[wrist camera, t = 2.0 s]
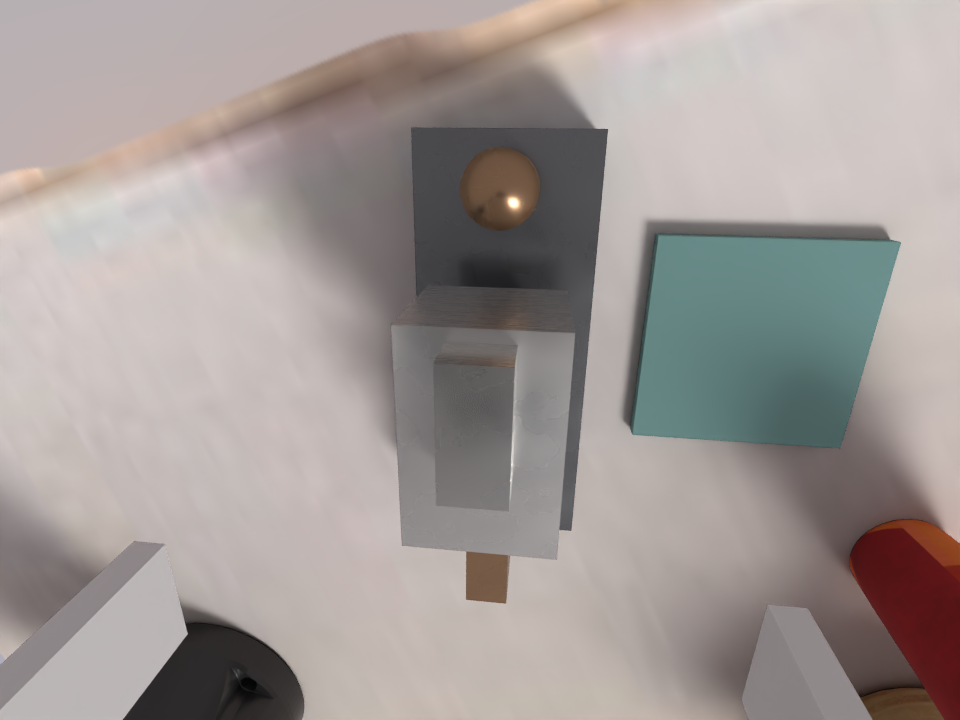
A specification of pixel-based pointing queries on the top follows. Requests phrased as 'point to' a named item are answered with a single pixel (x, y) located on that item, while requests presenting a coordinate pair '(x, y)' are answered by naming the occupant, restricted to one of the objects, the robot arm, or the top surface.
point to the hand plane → (512, 246)
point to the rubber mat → (758, 336)
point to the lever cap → (483, 418)
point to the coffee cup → (917, 600)
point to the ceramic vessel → (901, 705)
